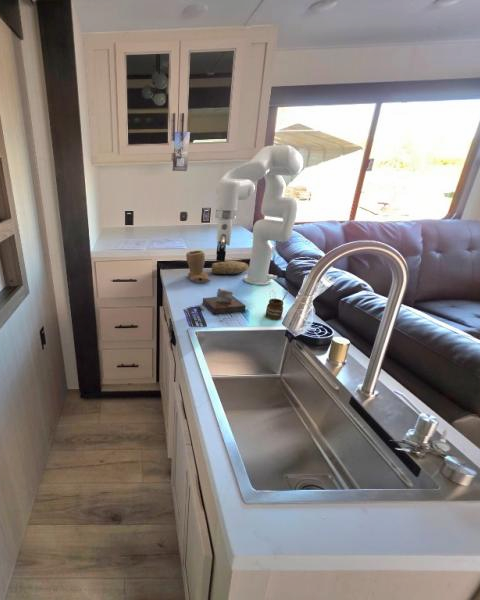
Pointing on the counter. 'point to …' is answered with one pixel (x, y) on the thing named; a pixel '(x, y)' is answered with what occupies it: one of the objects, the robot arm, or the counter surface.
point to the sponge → (229, 267)
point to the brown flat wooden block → (223, 306)
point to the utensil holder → (275, 308)
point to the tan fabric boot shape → (197, 266)
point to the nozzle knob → (224, 296)
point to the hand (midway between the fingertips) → (220, 257)
